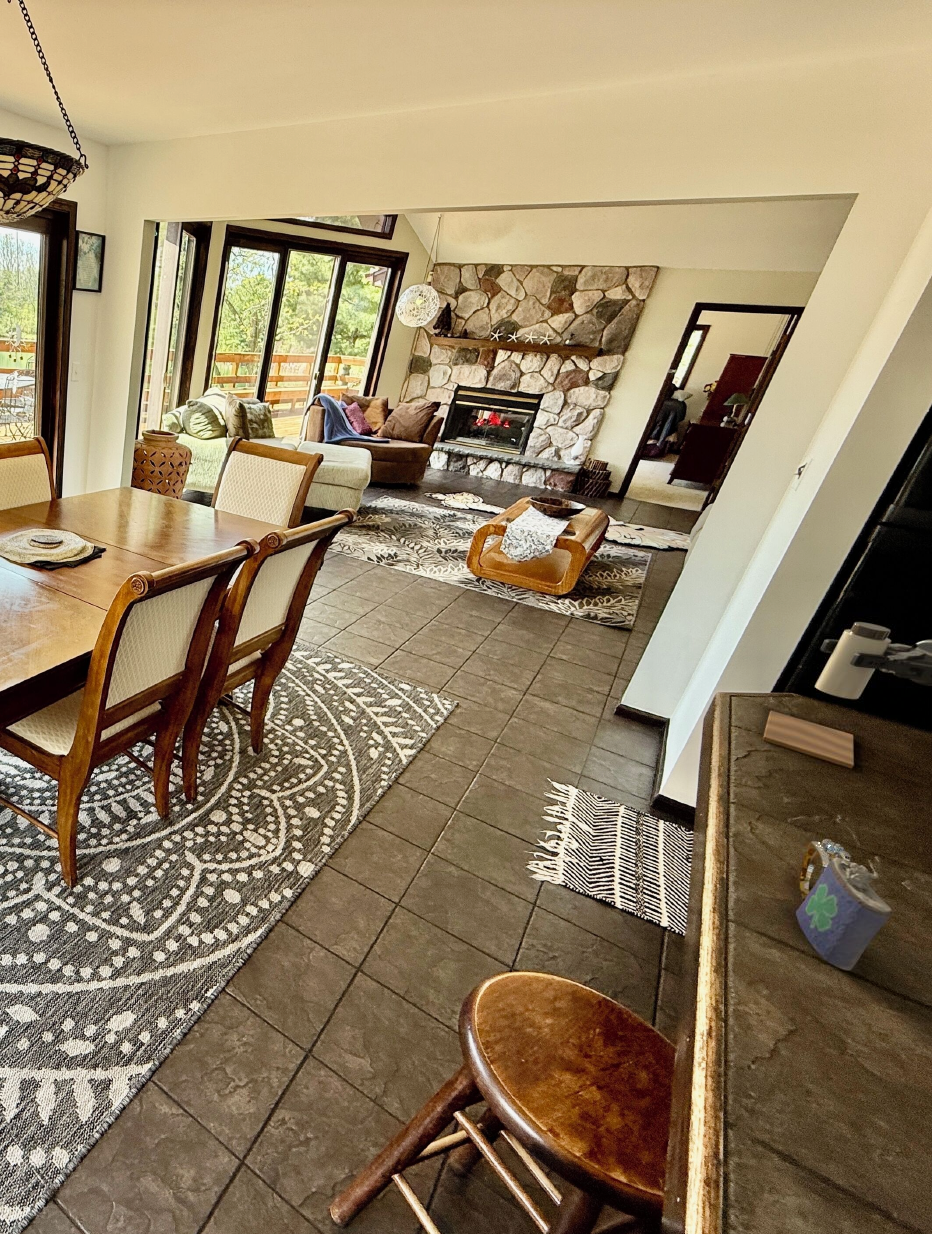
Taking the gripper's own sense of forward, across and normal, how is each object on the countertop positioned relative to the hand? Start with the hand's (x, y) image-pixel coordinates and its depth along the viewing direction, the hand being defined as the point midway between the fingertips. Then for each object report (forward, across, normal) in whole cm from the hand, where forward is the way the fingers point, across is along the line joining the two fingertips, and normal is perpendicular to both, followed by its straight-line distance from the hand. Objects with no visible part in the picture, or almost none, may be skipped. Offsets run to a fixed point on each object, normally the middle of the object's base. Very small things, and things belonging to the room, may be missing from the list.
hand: (839, 652), depth 108 cm
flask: (+34, +52, +18) cm, 65 cm away
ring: (+30, +44, +18) cm, 56 cm away
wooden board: (-5, -3, +18) cm, 19 cm away
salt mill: (-3, 0, +7) cm, 7 cm away
